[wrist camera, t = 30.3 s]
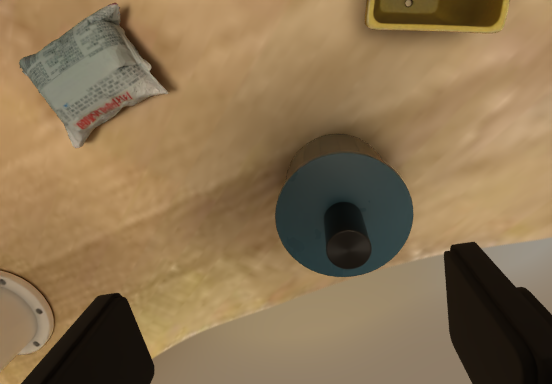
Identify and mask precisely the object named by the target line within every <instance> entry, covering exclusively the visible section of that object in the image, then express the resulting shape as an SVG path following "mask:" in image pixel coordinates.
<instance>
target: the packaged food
mask: <svg viewBox="0 0 552 384" xmlns="http://www.w3.org/2000/svg"><path fill="white" fill-rule="evenodd" d="M119 9H120V7H119V6H118V4H116V3H113V4H110V5H108V6H106V7H104V8H102V9H100V10H99V11H97V12H95V13H94V14H92V15H90V16H89V17H87V18H85V19H84V20H82V21H81V22H80V23H78V24H77V25H76V26H74V27H73V28H72V29H70V30H69V31H68V32H66V33H65V34H64V35H62V36H61V37H60V38H59V39H57V40H54V41H53V42H51V43H50V44H48V45H47V46H45V47H44V48H43V49H42V50H41V51H39V52H38V53H37V54H33V55H30V56H27V57H24V58H22V59H21V60H20V62H19V64H20V68H22V69H23V71H22V72H23V73H24V74H25V75H27V76H28V77H29V78H30V80H31V81H32V83H33V84H34V85H35V87H36V88H37V89H38V91H39V93H41V95H42V96H43V97H44V98H45V100H46V101H47V102H48V104H49V105H50V107H51V108H52V109H53V110H54V111H55V113H56V114H57V116H58V117H59V118H60V120H61V121H62V122H63V123H64V125H65V128H66V130H67V133H68V136H69V138H70V140H71V142H72V145H73V147H75V148H79V147H81V146H83V144H84V142H85V141H86V139H87V138H88V136H89V135H90V133H91V132H92V130H93V129H94V128H96V127H97V126H99V125H101V124H102V123H104V122H106V121H108V120H109V119H110V118H112V117H114V116H115V115H116V114H117V113H118V112H119V111H120V110H121V108H122V107H125V106H133V105H135V104H137V103H139V102H141V101H142V100H144V99H146V98H148V97H150V96H154V95H160V94H169V92H168V91H167V90H166V89H165V88H164V87H163V86H162V85H161V84H160V83H159V82H158V81H157V80H156V79H155V78H154V77H153V76H152V74H151V73H150V71H149V70H151V65H150V64H149V63H148V62H147V61H146V60H145V59H143V58H142V57H141V55H140V54H139V52H138V51H137V49H136V48H135V47H134V46H133V44H132V43H131V42H130V41H129V40H128V39H127V37H126V36H125V31H124V30H123V29H122V28H121V27H120V25H119V23H120V22H121V20H120V12H119Z"/></svg>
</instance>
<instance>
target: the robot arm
mask: <svg viewBox="0 0 552 384" xmlns="http://www.w3.org/2000/svg"><path fill="white" fill-rule="evenodd" d="M444 263H445V277H446V290H447V304H448V319H449V332H450V336H451V341H452V343H453V346H454V348H455V350H456V352H457V354H458V356H459V358H460V360H461V362H462V364H463V366H464V368H465V370H466V372H467V373H468V376H469V378H470V380H471V382H472V384H552V315H551V314H550V312H548V310H547V309H546V308H545V307H544V306H543V305H542V304H541V303H540V302H539V301H538V300H537V299H536V298H535V296H533V294H532V293H531V292H529V291H528V290H527V289H526V288H523V287H517V288H516V287H515V286H514V285H513V284H512V283H511V281H510V280H509V279H508V278H507V277H506V276H505V275H504V274H503V273H502V272H501V270H500V269H499V268H498V267H497V266H496V265H495V264H494V263H493V261H492V260H491V259H490V258H489V257H488V256H487V255H486V254H485V253H484V252H483V250H482V249H481V248H480V247H479V246H478V245H477V244H476V243H475V242H469V243H462V244H455V245H452V246H451V248H450V251H445V252H444ZM53 328H54V318H53V314H52V311H51V309H50V306H49V304H48V302H47V301H46V300H45V298H44V297H43V295H42V294H41V293H40V292H39V291H38V290H37V289H36V288H35V287H34V286H32V285H31V284H30V283H29V282H27V281H25V280H24V279H22V278H20V277H18V276H16V275H13V274H11V273H8V272H4V271H0V372H1V371H2V370H3V369H4V368H5V367H6V366H7V365H8V364H9V363H10V362H11V361H12V360H13V359H14V358H15V356H16V355H25V354H29V353H32V352H35V351H37V350H38V349H40V348H41V347H42V346H43V345H44V344H45V343H46V342H47V341H48V340H49V338H50V337H51V335H52V333H53ZM153 376H154V364H153V361H152V359H151V356H150V354H149V351H148V349H147V347H146V344H145V342H144V339H143V337H142V334H141V332H140V330H139V327H138V325H137V322H136V320H135V317H134V315H133V312H132V310H131V308H130V305H129V303H128V301H127V299H126V298H125V297H122V296H121V295H120V294H119V293H113V294H106V295H100V296H98V297H96V298H95V300H94V301H93V302H92V303H91V304H90V305H89V306H88V308H87V309H86V310H85V311H84V312H83V313H82V314H81V316H80V317H79V318H78V319H77V320H76V321H75V322H74V324H73V325H72V326H71V327H70V328H69V329H68V331H67V332H66V333H65V334H64V335H63V336H62V337H61V339H60V340H59V341H58V342H57V343H56V344H55V345H54V347H53V348H52V349H51V350H50V351H49V352H48V353H47V355H46V356H45V357H44V358H43V359H42V360H41V361H40V363H39V364H38V365H37V366H36V367H35V368H34V369H33V371H32V372H31V373H30V374H29V375H28V376H27V377H26V379H25V380H24V381H23V382H22V383H21V384H150V383H151V381H152V378H153Z"/></svg>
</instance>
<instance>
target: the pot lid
mask: <svg viewBox="0 0 552 384" xmlns="http://www.w3.org/2000/svg"><path fill="white" fill-rule="evenodd" d="M275 219H276V227H277V231H278V234H279V237H280V239H281V241H282V244H283V245H284V247H285V248H286V250H287V251H288V252H289V253H290V255H291V256H292V257H293V258H294V259H295V260H297V261H298V262H299V263H300V264H302V265H303V266H305V267H307V268H308V269H310V270H312V271H315V272H317V273H320V274H324V275H328V276H335V277H351V276H357V275H362V274H365V273H368V272H371V271H373V270H376V269H378V268H379V267H381V266H383V265H385V264H386V263H387V262H388V261H390V260H391V259H392V258H393V257H394V256H395V255H396V254H397V253H398V252H399V251H400V250H401V248H402V247H403V245H404V244H405V242H406V240H407V238H408V236H409V234H410V231H411V227H412V222H413V205H412V199H411V196H410V193H409V191H408V189H407V187H406V185H405V183H404V182H403V180H402V179H401V178H400V176H399V175H398V174H397V173H396V172H395V171H394V170H393V169H392V168H391V167H390V166H388V165H387V164H386V163H384V162H382V161H381V160H379V159H377V158H375V157H372V156H370V155H367V154H363V153H358V152H350V151H340V152H332V153H328V154H324V155H321V156H318V157H316V158H313V159H312V160H310V161H308V162H306V163H305V164H303V165H302V166H300V167H299V168H298V169H297V170H296V171H295V172H294V173H293V174H292V175H291V176H290V177H289V178H288V180H287V181H286V183H285V184H284V186H283V188H282V190H281V192H280V194H279V197H278V201H277V205H276V213H275Z"/></svg>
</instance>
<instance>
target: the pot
mask: <svg viewBox="0 0 552 384" xmlns="http://www.w3.org/2000/svg"><path fill="white" fill-rule="evenodd" d="M340 151H350V152H358V153H363V154H367V155H370V156H372V157H375V158H377V159H379V160H381V161H382V162H383V160H382V159H381V157H380V155H379V154H378V153H377V152H376V151H375V150H374V149H373V148H372V147H371V146H370V145H369V144H368V143H366V142H364V141H363V140H361V139H359V138H356V137H354V136H350V135H345V134H330V135H325V136H321V137H319V138H316V139H314V140H312V141H310V142H309V143H307V144H306V145H305V146H303V147H302V148H301V149H300V150H299V151H298V152H297V154H296V155H295V156H294V158H293V160H292V161H291V164H290V166H289V169H288V171H287V176H286V181H287V180H288V178H289V177H290V176H291V175H292V174H293V173H294V172H295V171H296V170H297V169H298V168H299V167H300V166H302V165H303V164H305V163H306V162H308V161H310V160H312V159H313V158H316V157H318V156H321V155H324V154H328V153H332V152H340ZM286 181H285V183H286Z"/></svg>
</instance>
